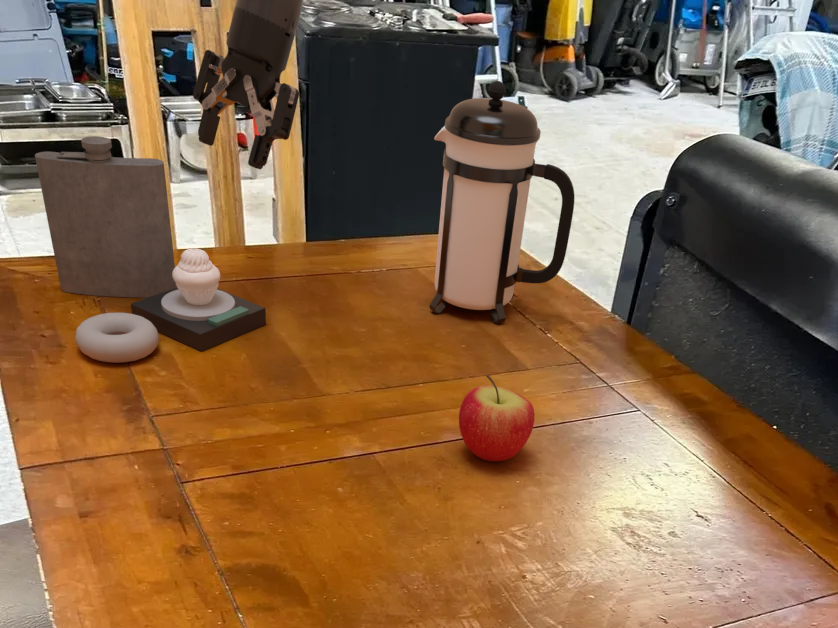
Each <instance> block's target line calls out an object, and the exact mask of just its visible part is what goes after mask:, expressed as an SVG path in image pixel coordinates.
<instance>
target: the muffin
mask: <svg viewBox="0 0 838 628" xmlns="http://www.w3.org/2000/svg"><path fill="white" fill-rule="evenodd" d="M172 277H173V279H174V281H175V282H176V286H177V287H178V289H179V291H180V292H181V294H182V295H183V297H184V298H185V300H186V301H187V302H188V303H189V304H193V305H206V304H209V303H210V302H211V301H212V298H213V296H214V294H215V292H216V290H217V288H218V289H219V285H220V284H219V282H220V280H221V272H220V269H219V267H217V266H216V265H214V264H213V262H212V260H210V256H209V254H208V253H207V252H206V251H205V250H203V249H201V248H195V247H193V248H188V249H185V250H184V251H182V252H181V254H180V260H179V262H178V263H177V265H175V268H174V270H173V272H172Z"/></svg>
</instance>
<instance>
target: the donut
mask: <svg viewBox="0 0 838 628" xmlns="http://www.w3.org/2000/svg"><path fill="white" fill-rule="evenodd" d="M74 340H75V343H76V345H77V347H78V349H79V350H80V351H81V353H83V354H84V355H86V356H87V357H89V358H91V359H92V360H96V361H98V362H103V363H113V364H119V363H123V364H124V363H129V362H136V361H139V360H141V359H144V358H146V357H148V356H149V355H151V354H152V353H153V352H154V351H155V350H156V348H157V347H158V345H159V332H158V331H157V329H156V328H155V326H154V325H153V324H152V323H151V322H150V321H149V320H147V319H145V318H143V317H142V316H138V315H135V314H132V313H128V312H105V313H100V314H97V315H93V316H90V317H88V318H86V319H84V320H83V321H82V322H81V323H80V324H79V326H77V328H76V330H75V337H74Z"/></svg>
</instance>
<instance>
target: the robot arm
mask: <svg viewBox="0 0 838 628" xmlns="http://www.w3.org/2000/svg"><path fill="white" fill-rule="evenodd" d="M303 4H304V0H236V1H235V5H234V8H233V13H232V17H231V22H230V25H229V30H228V33H227V38H226V41H225V42H226V46H227V54H226V55H225V57H224V56H223V55H220V54H219V53H218V52H217V53H216V52H214V51H212V50H210V49H206V50H205V51H204V54H203V57H202V60H201V64H200V67H199V71H198V75H197V78H196V81H195V85H194V88H193V92H192V97H193V99H194V100H196V101H197V102H198V103H199V104H200V106H201V107H202V113H201V117H200V120H199V126H198V129H197V134H198V141H199V142H200V143H201V144H205V145H207V146H213V145H214V143H215V140H216V137H217V133H218V129H219V125H220V121H221V116H219V115H221V113H222V112H223V111H225V109H227V108H228V107H229V106H233V105H234V104H235V103H236V104H239V105H241V106H243V107H244V108H247V109H249V110H250V113H251V116H252V117H253V118H254V120H255V125H256V130H257V133H258V134H255V135H254V138H253V143H252V146H251V149H250V153H249V156H248V161H247V164H248V166H250V167H251V168H254V169H257V170H262V169H263V168H264V167H265V166H266V165H267V163H268V160H269V156H270V153H271V149H272V146H273V143H274V141H275V140H284V141H287V140H289V138H290V135H291V130H292V127H293V124H294V123H293V122H294V118H295V113H296V110H297V106H298V102H299V98H300V90H299V89H297V88H296V87H294V86H292V85H290V84H287V83H285V82H282V83H281V74H282V73H283V72H284V71H285V70H286V69H287V65H288V62H289V58H290V55H291V51H292V47H293V44H294V41H295V37H296V33H297V29H298V25H299V22H300V19H301V14H302V11H303ZM221 75H222V78H220V77H221ZM274 98H276V99H275V100H276V102H275V107H274V103H273V99H274Z"/></svg>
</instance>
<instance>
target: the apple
mask: <svg viewBox="0 0 838 628" xmlns="http://www.w3.org/2000/svg"><path fill="white" fill-rule="evenodd" d="M485 376H486V378H487V379H488V381H490V382H491V384H492V385H490V384H489V385H488V384H486V385H479V386H476V387H474V388H472V389H471V390H470V391H469V392H468V393H467V394H466V395H465V397H464V398H463V400H462V402H461V404H460V408H459V413H458V428H459V431H460V436H461V438H462V440H463V443H464V444H465V446H466V447H467V448H468V450H469V451H470V452H471V453H472V454H473V455H475V456H476V457H478V459H479V458H480V459H481V460H484V461H487V462H505V461H507V460H510V459H512V458H513V457H515V456H516V455H517V454H518V453H519V452H520V451H521V450H522V449H523V448H524V447H525V445H526V443H527V442H528V441H529V439H530V436H531V434H532V431H533V428H534V425H535V415H536V414H535V408H534V406H533V404H532V403H531V401H530V400H528V399H527V398H526V397H525V396H523V395H521V394H519V393H517V392H515V391H513V390H511V389H508V388H506V387H501V386H497V385H496V383H495V382H494V380H493V378H492V377H491V376H490V375H489V373H486V375H485Z"/></svg>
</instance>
